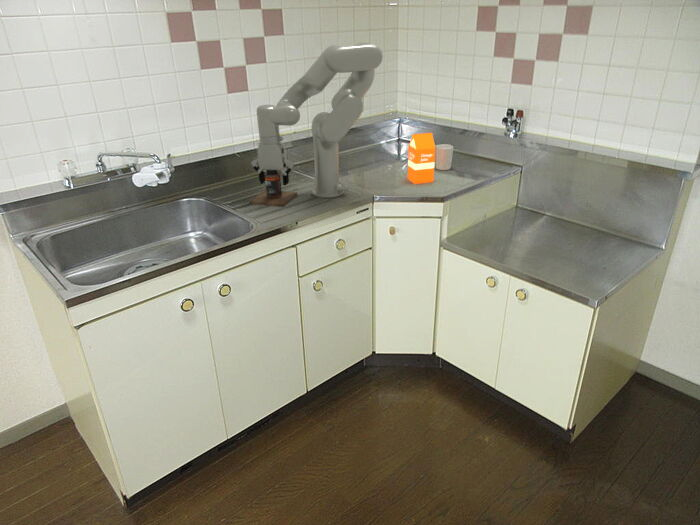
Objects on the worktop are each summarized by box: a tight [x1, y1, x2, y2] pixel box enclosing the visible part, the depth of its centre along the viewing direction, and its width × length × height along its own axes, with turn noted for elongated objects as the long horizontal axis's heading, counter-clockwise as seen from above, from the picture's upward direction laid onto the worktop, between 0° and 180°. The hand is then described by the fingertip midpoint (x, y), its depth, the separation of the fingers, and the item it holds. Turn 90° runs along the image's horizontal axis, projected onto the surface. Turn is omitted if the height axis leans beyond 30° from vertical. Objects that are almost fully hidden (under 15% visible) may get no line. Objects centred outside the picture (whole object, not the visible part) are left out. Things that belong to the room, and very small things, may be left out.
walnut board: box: [249, 188, 298, 208], centre depth 207 cm, size 14×14×1 cm
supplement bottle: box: [264, 170, 283, 199], centre depth 204 cm, size 6×6×11 cm
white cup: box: [435, 143, 454, 171], centre depth 239 cm, size 8×8×10 cm
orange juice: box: [406, 132, 436, 185], centre depth 222 cm, size 8×9×20 cm
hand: (274, 183), depth 204 cm, fingers open, 9 cm apart
